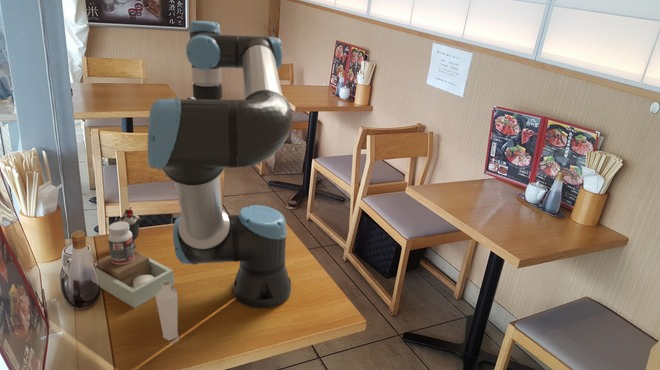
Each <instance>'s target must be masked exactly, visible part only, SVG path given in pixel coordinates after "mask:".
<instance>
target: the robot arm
mask: <svg viewBox="0 0 660 370" xmlns="http://www.w3.org/2000/svg"><path fill="white" fill-rule="evenodd" d="M282 45H283V44H282V40H281V39H280V38H278V37H273V36H267V35H263V36H259V35H255V36H254V35H235V34H234V35H233V34H231V35H230V34H221V26H220V24H219V23H218V22H216V21H209V20H193V21H191V22H190V23H189V39H188V41H187V43H186V53H185V54H186V57H187V60H188V62H189V63H190V64H191V81H192V82H193V83H192V96H190V97H187V98H185V99H183V98H179V97H174V98H163V99H162V98H160V99H157V100H155V101H153V102H152V104H151V105H150V109H149V115H148V128H147V129H148V130H147V165H148V166H149V168H151V169H157V170H159V171H160V170H162V171H163V172H164V174H165V176H167V178H168V179H170V180H171V181H172V182H173V183H174V187H175V190H176V194H177V199H178V202H179V203H178V204H179V208H180V211H181V212H180V213H181V216H178V217H177V218H176V219H175V220H174V224H173V228H172V229H173V231H172V239H173V241H172V242H173V246H174V254H175V256H176V258H177V260H178V261H179V262H180V263H182V264H186V265H199V264H215V263H231V262H232V263H233V262H234V263H235V262H239V268H238V270H237V273H236V276H235V278H234V280H233V293H234V296H235V297H234V298H235V300H236V301H237V302H238V303H240V304H241V305H243V306H246V307H249V308H252V309H254V308H255V309H268V308H274V307H277V306H280V305H281V304H283V303H285V302H286V301H287V300H288V299H289V298H290V295H291V293H292V282H291V278H290V277H289V274H288V269H287V266H286V244H287V243H286V238H287V235H288V231H287V221H286V218H285V217H284V215H283V213H282V212H280V211H279V210H276V209H275V208H272V207H270V206H266V205H261V204H259V205H258V204H252V205H248V206H245V207H244V206H243V207H242V208H241V209H240V210H239V212H238V214H227V213H226V212H225V210H224V209H223V202H222V191H221V188H222V187H221V174H222V173H223V172H224V170H225V168H226V169H227V168H230V169H231V168H238V169H239V168H248V167H249V168H251V167H253V166H257V165H259V164H261V163H264V162H265V161H267V160H269V159H270V158H271V157H273V156H274V155H275V154H276V153H277V152H278V151H279V150H280V149H281V148H282V147H283V146H284V144H285V142H286V141H287V139H288V138H289V135H290V133H291V130H292V126H293V113H292V109H291V105H290V102H289V100H288V99H287V98H286V96H284V95H283V91H282V86H281V82H280V77H279V72H278V69H280V68H281V67H282V63H283V62H282V61H283V47H282ZM222 68H224V69H225V68H226V69H229V68H231V69H242V74H243V75H242V77H243V97H244V99H222V98H223V86H222V84H221V83H222V81H223V80H222Z"/></svg>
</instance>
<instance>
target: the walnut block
mask: <svg viewBox="0 0 660 370" xmlns="http://www.w3.org/2000/svg"><path fill="white" fill-rule="evenodd" d="M136 251H137V250H135V251H134V253H135V258H134V260H133V261H131V262H130V263H127V264H123V265H117V264H114V263H112V261H111V256H110V254H109V255H107V256H104V257H102V258H100V259H97V260H96V262H95V263H97V268H98V269H100V270H101V271H103V272H105V273H107V274H108V275H110V276H112V277H113V278H115V279H117V280H119V281H120V282H122V283H124V284H126V285H127V286H129V287H131V288H132V287H134V283H133V281H134V279H135V278H137V277H138V276H141V275H151V273H150V264H149V258H150V257H148V256H146V255H144V254H143V253H141V254H140V252H139V253H138V251H137V252H136ZM142 254H143V255H142Z"/></svg>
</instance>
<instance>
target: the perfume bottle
mask: <svg viewBox="0 0 660 370" xmlns="http://www.w3.org/2000/svg"><path fill="white" fill-rule="evenodd" d="M161 286H162V289H161V290H160V291H159V292H158V293H157V295H156V296H155V301H156V306H157V311H158V315H159V321H160V326H161V330H162V338H164V339H165V340H166V341H170V342H169V343H168V345H169V344H170V345H172V344H174V343H176V342H178V341H180V336H179V333H178V332H179V331H178V329H179V328H178V319H179V318H178V315H179V314H178V313H179V312H178V308H179V307H178V306H179V305H178V299H179V298H178V291H177V288H175V287H171V281H163V282H162V283H161Z"/></svg>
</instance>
